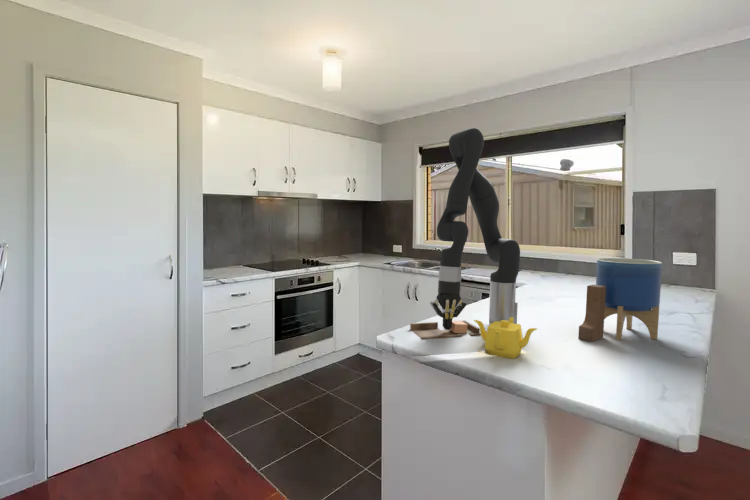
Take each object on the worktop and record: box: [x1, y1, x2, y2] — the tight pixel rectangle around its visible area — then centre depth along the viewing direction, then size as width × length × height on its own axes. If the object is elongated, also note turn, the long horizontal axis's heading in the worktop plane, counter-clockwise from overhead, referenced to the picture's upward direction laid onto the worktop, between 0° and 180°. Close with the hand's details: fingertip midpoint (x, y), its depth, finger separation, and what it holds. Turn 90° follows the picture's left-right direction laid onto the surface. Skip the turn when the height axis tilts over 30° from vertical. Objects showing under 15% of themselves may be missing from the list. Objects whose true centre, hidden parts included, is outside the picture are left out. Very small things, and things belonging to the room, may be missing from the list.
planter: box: [595, 257, 663, 341], centre depth 138 cm, size 19×19×26 cm
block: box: [450, 320, 468, 334], centre depth 135 cm, size 4×4×3 cm
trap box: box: [409, 319, 481, 340], centre depth 134 cm, size 21×12×4 cm, turn 103°
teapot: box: [473, 317, 538, 360], centre depth 119 cm, size 15×14×10 cm
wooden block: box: [578, 284, 606, 343], centre depth 133 cm, size 9×4×18 cm, turn 127°
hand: (446, 329), depth 134 cm, fingers closed
